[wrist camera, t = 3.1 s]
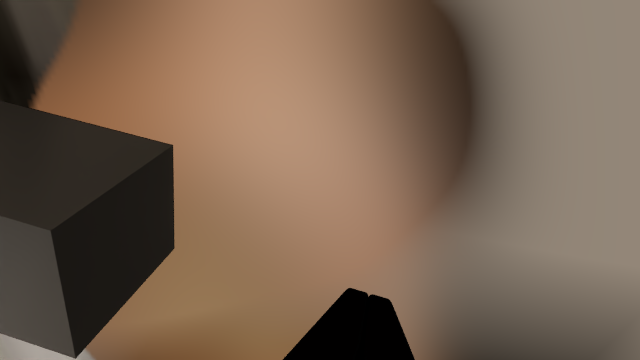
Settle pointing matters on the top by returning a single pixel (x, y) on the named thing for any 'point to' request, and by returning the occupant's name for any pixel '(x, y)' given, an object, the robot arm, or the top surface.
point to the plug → (76, 224)
